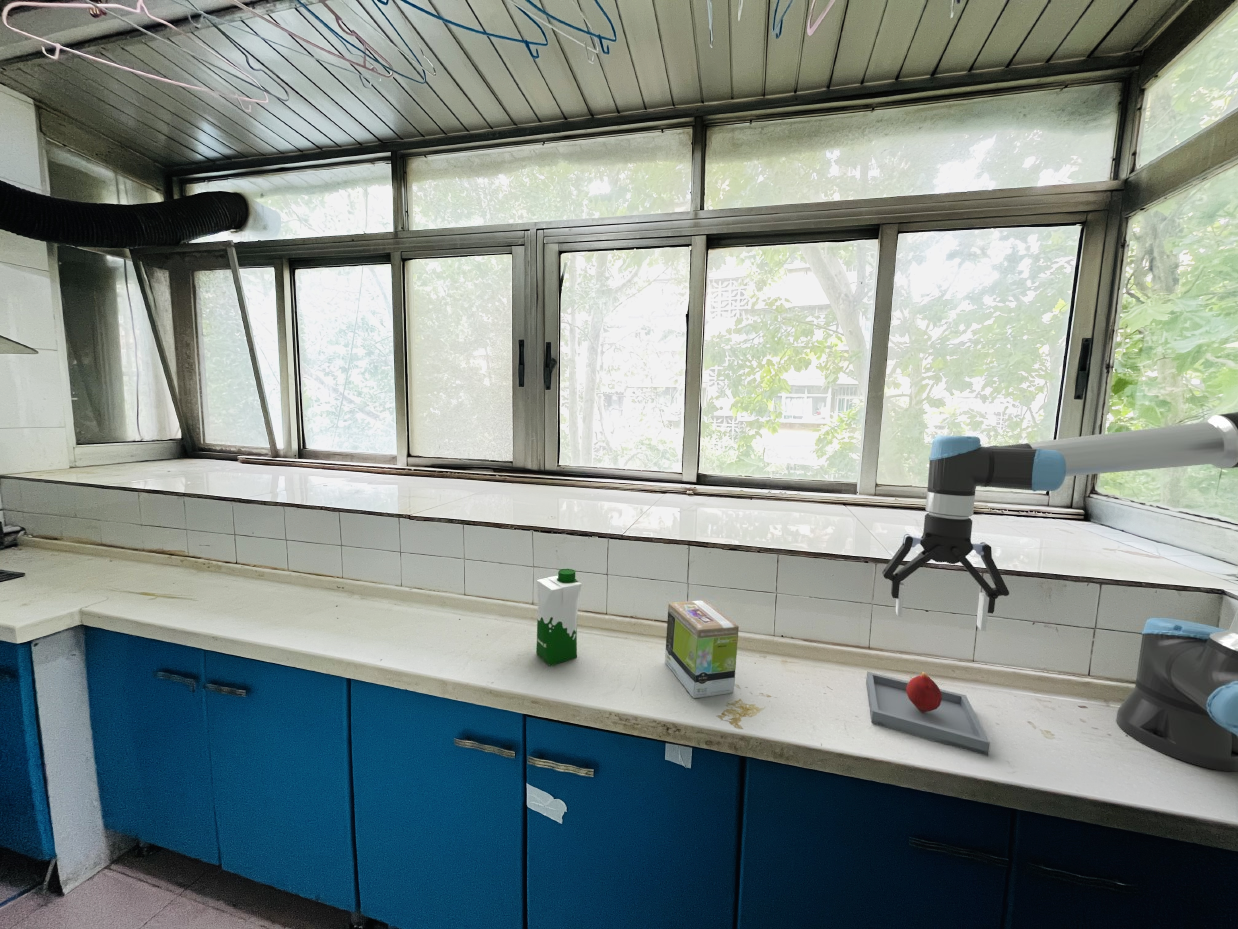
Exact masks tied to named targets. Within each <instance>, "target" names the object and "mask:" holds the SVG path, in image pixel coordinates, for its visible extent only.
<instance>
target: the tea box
mask: <svg viewBox="0 0 1238 929" xmlns="http://www.w3.org/2000/svg"><path fill="white" fill-rule="evenodd" d="M667 606H668V607H667V622H666V623H667V624H666V635H665V638H666V639H665V653H664V663H665V664H666V665H667V666H668V668H669V669H670V670H671V672H672V673H673V674H674V675H675V676H676V678H677V680H678V681H679V682H680V683H681V685H682V686H683V687H684V689H686V690H687V691H688V693H689V695H690V697H691V696H692V698H693V699H698V698H707V697H714V696H719V695H726V694H731V693H734V691H735V679H736V668H737V657H738V656H737V655H738V641H739V628H740V626H739V625H738V624H737V623H736V622H735V621H733V620H732V619H731V618H730V617H727V615H725V614H723V613H722V612H721V611H720V610H718V609H717V608H716V607H715V606H713V605H712V604H711V603H709V602H708V601H706V599H705V600H703V599H702V600H692V601H691V600H690V601H688V600H687V601H677V602H676V601H675V602H668V605H667Z"/></svg>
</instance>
